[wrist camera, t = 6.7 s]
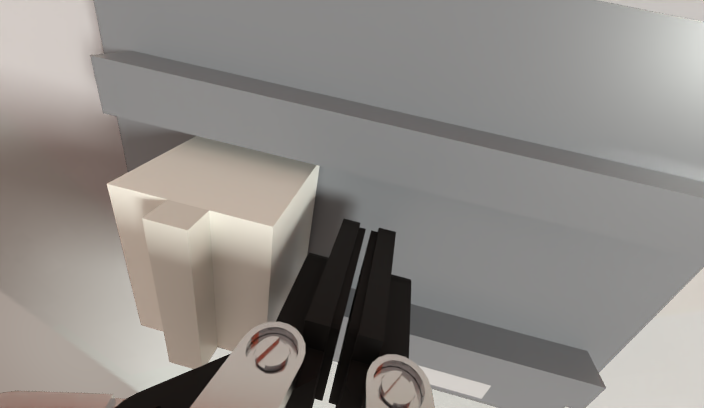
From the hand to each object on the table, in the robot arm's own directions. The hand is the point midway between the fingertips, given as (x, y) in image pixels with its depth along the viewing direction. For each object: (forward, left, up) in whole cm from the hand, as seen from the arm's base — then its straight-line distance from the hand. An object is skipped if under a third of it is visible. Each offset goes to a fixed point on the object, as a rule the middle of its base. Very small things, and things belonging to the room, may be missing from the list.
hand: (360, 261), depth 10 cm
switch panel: (-1, 0, -4) cm, 4 cm away
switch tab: (+4, 0, -1) cm, 4 cm away
